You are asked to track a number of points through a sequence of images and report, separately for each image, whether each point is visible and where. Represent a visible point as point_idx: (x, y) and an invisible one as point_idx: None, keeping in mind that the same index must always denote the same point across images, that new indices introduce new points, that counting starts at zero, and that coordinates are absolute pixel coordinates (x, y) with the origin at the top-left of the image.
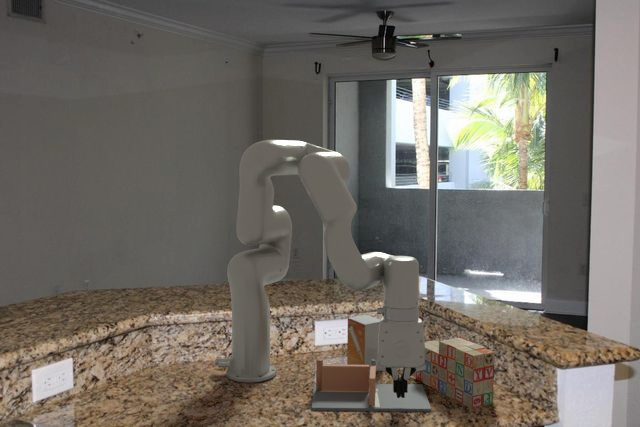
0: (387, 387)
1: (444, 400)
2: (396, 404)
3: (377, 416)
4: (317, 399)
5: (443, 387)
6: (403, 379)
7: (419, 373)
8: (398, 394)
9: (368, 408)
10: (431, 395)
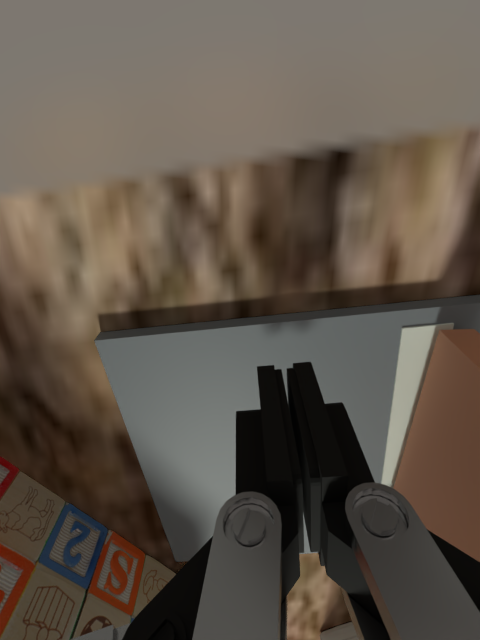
0: None
1: (62, 457)
2: None
3: (429, 221)
4: None
5: (71, 540)
6: (279, 501)
7: None
8: (306, 375)
9: (477, 302)
10: (129, 493)
